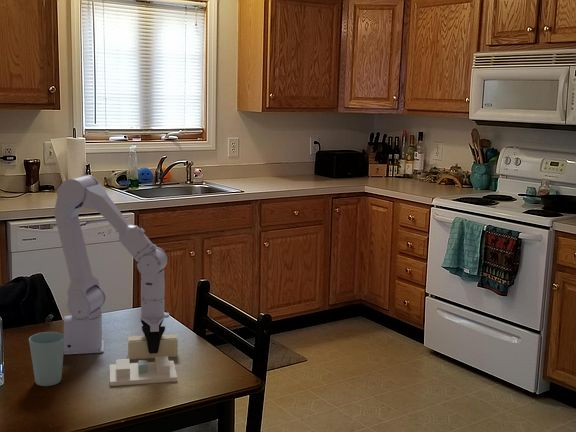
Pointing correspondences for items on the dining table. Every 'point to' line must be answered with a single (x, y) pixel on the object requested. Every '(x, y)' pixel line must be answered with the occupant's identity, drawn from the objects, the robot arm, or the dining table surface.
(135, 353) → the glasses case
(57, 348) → the cup
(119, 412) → the dining table surface
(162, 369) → the display stand
